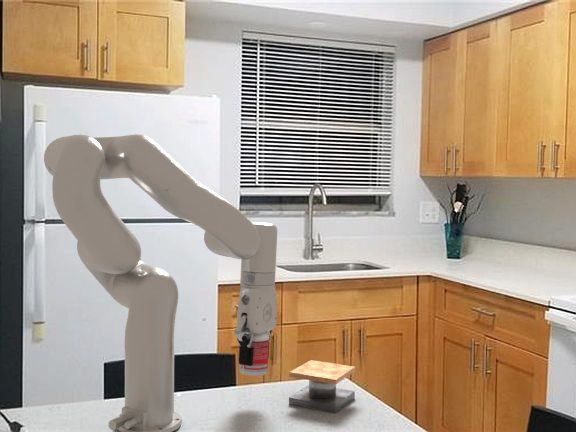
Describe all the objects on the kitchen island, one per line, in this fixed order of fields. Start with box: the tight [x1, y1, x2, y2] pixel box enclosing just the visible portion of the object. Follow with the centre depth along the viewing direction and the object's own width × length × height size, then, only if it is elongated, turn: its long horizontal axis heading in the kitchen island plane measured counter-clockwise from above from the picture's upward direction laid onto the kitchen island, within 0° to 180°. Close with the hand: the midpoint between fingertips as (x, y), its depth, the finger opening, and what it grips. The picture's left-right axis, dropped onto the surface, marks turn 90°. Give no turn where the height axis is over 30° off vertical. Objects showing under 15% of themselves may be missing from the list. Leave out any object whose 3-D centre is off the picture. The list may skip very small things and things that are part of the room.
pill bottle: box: [238, 329, 270, 377], centre depth 144 cm, size 6×6×11 cm
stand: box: [288, 359, 356, 414], centre depth 147 cm, size 11×11×7 cm
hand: (253, 360), depth 144 cm, fingers closed on pill bottle, 6 cm apart
